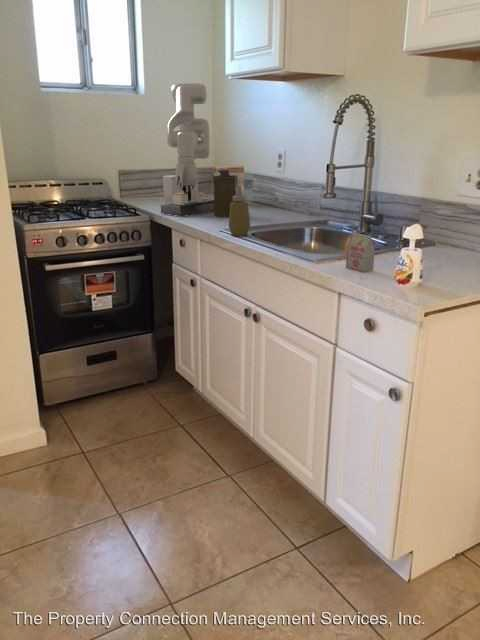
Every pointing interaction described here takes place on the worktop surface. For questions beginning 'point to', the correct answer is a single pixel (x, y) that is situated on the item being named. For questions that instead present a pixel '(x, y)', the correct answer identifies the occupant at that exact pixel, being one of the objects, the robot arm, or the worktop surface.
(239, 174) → the coffeecake box
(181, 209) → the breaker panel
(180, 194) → the block
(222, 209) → the canister
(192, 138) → the robot arm
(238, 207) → the squeeze bottle
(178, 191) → the skincare box
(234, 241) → the worktop surface
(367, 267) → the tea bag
